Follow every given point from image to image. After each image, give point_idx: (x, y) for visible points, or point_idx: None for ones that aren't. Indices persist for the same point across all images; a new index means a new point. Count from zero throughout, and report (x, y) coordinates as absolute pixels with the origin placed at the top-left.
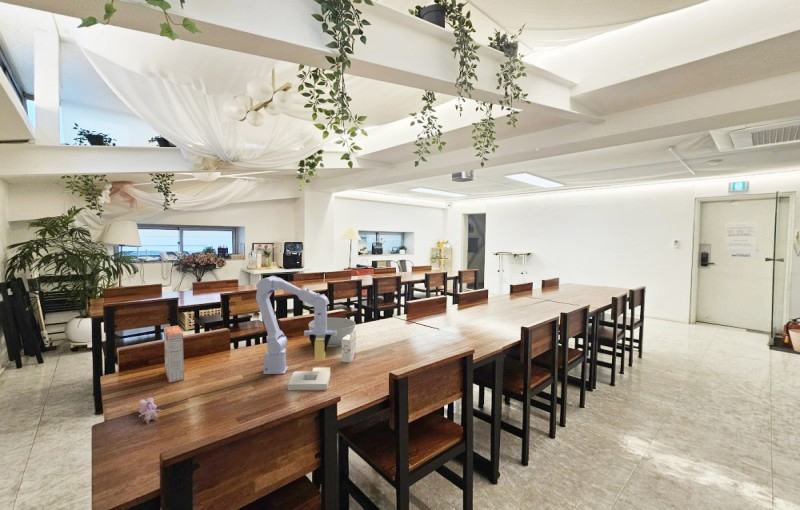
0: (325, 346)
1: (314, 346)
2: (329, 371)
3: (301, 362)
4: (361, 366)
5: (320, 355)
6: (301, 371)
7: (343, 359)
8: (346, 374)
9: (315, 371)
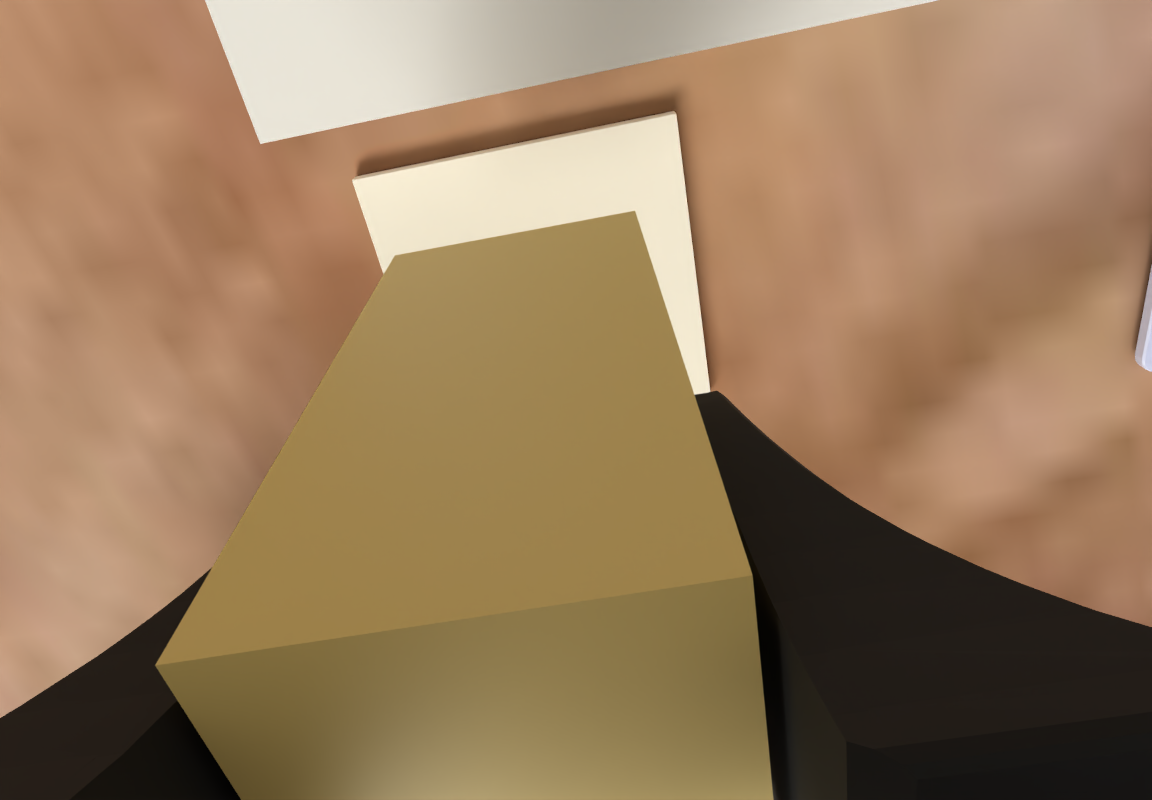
0: None
1: (728, 472)
2: (272, 120)
3: None
4: (25, 568)
5: (468, 289)
6: (871, 7)
7: None
8: (70, 262)
9: (565, 67)
